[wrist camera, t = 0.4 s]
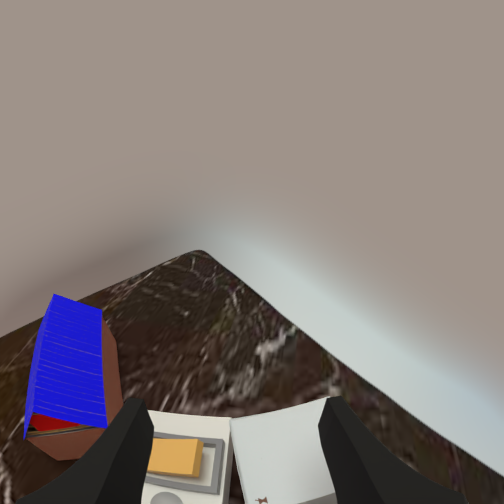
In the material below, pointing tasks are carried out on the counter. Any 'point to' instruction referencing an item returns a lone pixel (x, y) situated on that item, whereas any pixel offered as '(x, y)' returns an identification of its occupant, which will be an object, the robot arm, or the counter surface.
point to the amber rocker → (176, 457)
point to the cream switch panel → (211, 468)
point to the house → (72, 380)
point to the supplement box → (282, 456)
